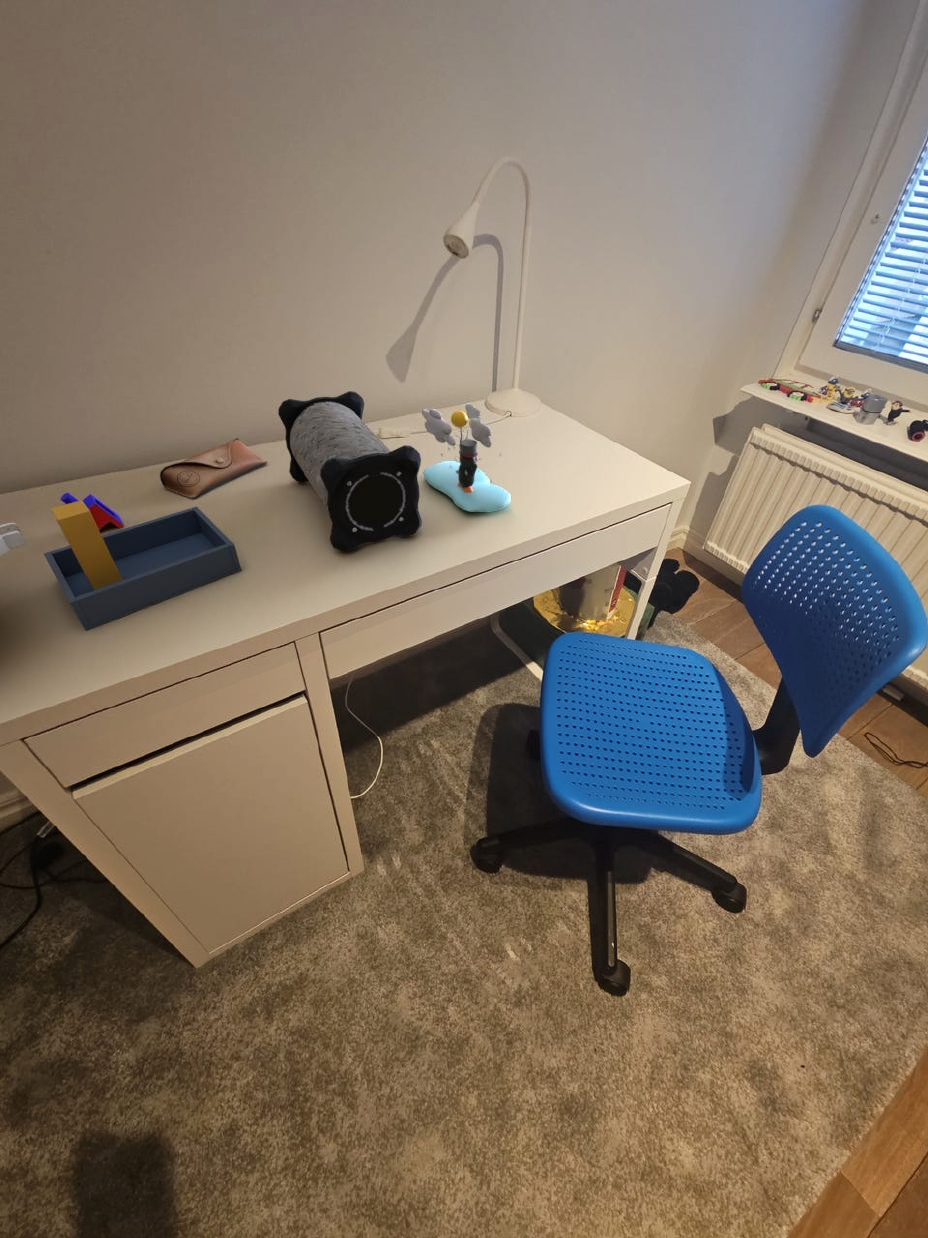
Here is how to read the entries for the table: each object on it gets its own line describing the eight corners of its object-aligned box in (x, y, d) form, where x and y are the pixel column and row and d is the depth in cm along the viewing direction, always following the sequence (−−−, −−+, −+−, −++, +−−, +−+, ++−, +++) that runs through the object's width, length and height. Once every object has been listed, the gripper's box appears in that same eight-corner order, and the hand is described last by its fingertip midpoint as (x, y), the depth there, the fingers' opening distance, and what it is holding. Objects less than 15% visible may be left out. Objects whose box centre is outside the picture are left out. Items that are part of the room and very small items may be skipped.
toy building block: (98, 532, 88) (51, 498, 81) (119, 515, 88) (74, 480, 82) (102, 542, 86) (55, 508, 79) (123, 524, 86) (78, 490, 80)
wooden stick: (98, 598, 72) (57, 519, 64) (91, 585, 74) (50, 508, 66) (126, 588, 74) (89, 510, 66) (118, 576, 76) (81, 499, 68)
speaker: (366, 465, 106) (359, 386, 96) (426, 537, 87) (425, 448, 77) (289, 479, 100) (273, 397, 90) (335, 560, 81) (322, 466, 72)
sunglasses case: (194, 498, 93) (170, 462, 90) (177, 507, 97) (154, 473, 95) (271, 460, 105) (251, 427, 102) (252, 470, 109) (233, 439, 107)
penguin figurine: (519, 509, 95) (529, 424, 85) (467, 524, 90) (471, 436, 80) (462, 464, 108) (465, 386, 98) (414, 475, 103) (412, 394, 93)
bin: (85, 631, 68) (69, 602, 65) (58, 580, 75) (43, 553, 72) (242, 570, 79) (234, 544, 76) (205, 531, 86) (196, 505, 83)
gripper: (-120, 556, 64) (16, 519, 72) (-105, 649, 53) (54, 594, 61) (-158, 510, 60) (-10, 476, 68) (-150, 599, 49) (26, 547, 56)
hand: (21, 532), depth 64 cm, fingers closed
